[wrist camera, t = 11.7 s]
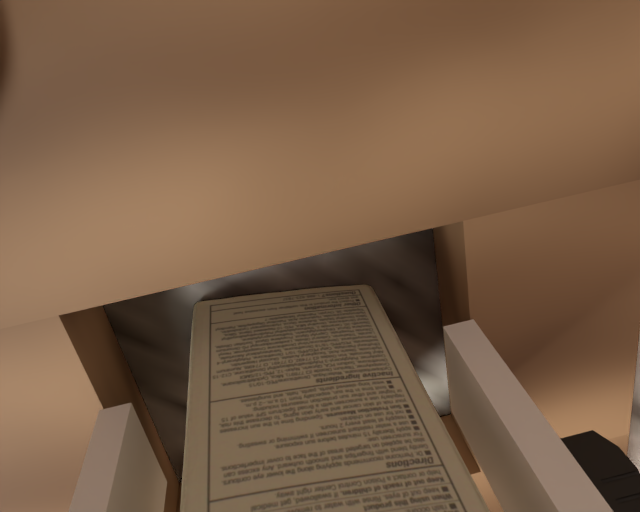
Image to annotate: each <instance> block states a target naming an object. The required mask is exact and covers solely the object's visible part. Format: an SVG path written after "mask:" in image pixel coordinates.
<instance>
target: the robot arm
mask: <svg viewBox="0 0 640 512" xmlns="http://www.w3.org/2000/svg"><path fill="white" fill-rule="evenodd" d="M443 331H444V341H445V352H446V362H447V373H448V383H449V393H450V404H451V411H452V413H453V415H454V417H455V419H456V421H457V423H458V425H459V427H460V428H461V430H462V432H463V434H464V436H465V438H466V440H467V442H468V444H469V446H470V448H471V450H472V451H473V453H474V455H475V457H476V459H477V461H478V463H479V465H480V467H481V469H482V471H483V473H484V474H485V476H486V478H487V480H488V482H489V484H490V486H491V488H492V490H493V492H494V494H495V496H496V497H497V499H498V501H499V503H500V505H501V507H502V509H503V511H504V512H640V473H639V471H638V469H637V468H636V466H635V465H634V464H633V463H632V462H631V461H630V459H629V458H628V457H627V456H626V455H625V453H624V452H623V451H622V450H621V449H620V447H618V446H617V445H615V444H614V443H612V442H611V441H609V440H607V439H606V438H604V437H603V436H601V435H600V434H598V433H597V432H595V431H593V430H591V431H587V432H583V433H580V434H576V435H572V436H568V437H564V438H559V436H558V435H557V433H556V432H555V431H554V429H553V428H552V427H551V425H550V424H549V422H548V421H547V420H546V418H545V417H544V416H543V414H542V413H541V411H540V410H539V409H538V407H537V406H536V405H535V403H534V402H533V401H532V399H531V398H530V396H529V395H528V394H527V392H526V391H525V390H524V388H523V387H522V385H521V384H520V383H519V381H518V380H517V379H516V377H515V376H514V374H513V373H512V372H511V370H510V369H509V368H508V366H507V365H506V363H505V362H504V361H503V359H502V358H501V357H500V355H499V354H498V352H497V351H496V350H495V348H494V347H493V346H492V344H491V343H490V341H489V340H488V339H487V337H486V336H485V335H484V333H483V332H482V330H481V329H480V328H479V326H478V325H477V324H476V322H475V321H474V320H473V319H472V320H468V321H464V322H460V323H456V324H452V325H448V326H444V327H443ZM166 488H167V480H166V478H165V476H164V474H163V472H162V469H161V467H160V465H159V463H158V460H157V458H156V456H155V454H154V452H153V449H152V447H151V445H150V443H149V441H148V438H147V436H146V434H145V432H144V430H143V427H142V425H141V423H140V421H139V418H138V416H137V414H136V412H135V410H134V407H133V405H132V403H127V404H123V405H119V406H115V407H111V408H107V409H103V410H99V412H98V416H97V419H96V422H95V426H94V429H93V432H92V436H91V439H90V442H89V446H88V449H87V452H86V456H85V459H84V462H83V465H82V469H81V472H80V475H79V479H78V482H77V485H76V489H75V492H74V495H73V499H72V502H71V505H70V509H69V512H164V504H165V496H166Z"/></svg>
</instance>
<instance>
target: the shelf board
mask: <svg viewBox="0 0 640 512" xmlns="http://www.w3.org/2000/svg"><path fill="white" fill-rule="evenodd" d="M431 228H433V236H434V246H435V256H436V267H437V277H438V287H439V297H440V307H441V317H442V327H444V326H448V325H452V324H456V323H460V322H464V321H468V320H472V319H473V320H474V321H475V322H476V324H477V325H478V326H479V328H480V329H481V330H482V332H483V333H484V335H485V336H486V337H487V339H488V340H489V341H490V343H491V344H492V346H493V347H494V348H495V350H496V351H497V352H498V354H499V355H500V357H501V358H502V359H503V361H504V362H505V363H506V365H507V366H508V368H509V369H510V370H511V372H512V373H513V374H514V376H515V377H516V379H517V380H518V381H519V383H520V384H521V385H522V387H523V388H524V390H525V391H526V392H527V394H528V395H529V396H530V398H531V399H532V401H533V402H534V403H535V405H536V406H537V407H538V409H539V410H540V411H541V413H542V414H543V416H544V417H545V418H546V420H547V421H548V422H549V424H550V425H551V427H552V428H553V429H554V431H555V432H556V433H557V435H558V436H559V438H564V437H568V436H572V435H576V434H580V433H583V432H587V431H591V430H593V431H595V432H597V433H598V434H600V435H601V436H603V437H604V438H606V439H607V440H609V441H611V442H612V443H614V444H615V445H617V446H618V447H620V449H621V450H622V451H623V452H624V453H625V455H626V456H627V450H628V440H629V430H630V420H631V410H632V400H633V390H634V380H635V370H636V360H637V350H638V341H639V331H640V0H0V512H69V509H70V505H71V502H72V499H73V495H74V492H75V489H76V485H77V482H78V479H79V475H80V472H81V469H82V465H83V462H84V459H85V456H86V452H87V449H88V446H89V442H90V439H91V436H92V432H93V429H94V426H95V422H96V419H97V416H98V412H99V410H103V409H107V408H111V407H115V406H119V405H123V404H127V403H132V405H133V407H134V410H135V412H136V414H137V416H138V418H139V421H140V423H141V425H142V427H143V430H144V432H145V434H146V436H147V438H148V441H149V443H150V445H151V447H152V449H153V452H154V454H155V456H156V458H157V460H158V463H159V465H160V467H161V469H162V472H163V474H164V476H165V478H166V480H167V488H166V496H165V504H164V512H180V503H181V488H182V482H180V483H179V482H178V479H177V477H176V475H175V472H174V470H173V468H172V465H171V463H170V461H169V458H168V456H167V454H166V452H165V449H164V447H163V445H162V442H161V440H160V438H159V435H158V433H157V431H156V428H155V426H154V424H153V422H152V419H151V417H150V415H149V412H148V410H147V408H146V405H145V403H144V401H143V398H142V396H141V394H140V392H139V389H138V387H137V385H136V382H135V380H134V378H133V375H132V373H131V371H130V368H129V366H128V364H127V362H126V359H125V357H124V355H123V352H122V350H121V348H120V345H119V343H118V341H117V339H116V336H115V334H114V332H113V329H112V327H111V325H110V322H109V320H108V318H107V315H106V313H105V311H104V309H103V306H102V305H105V304H110V303H114V302H118V301H123V300H127V299H131V298H135V297H140V296H144V295H148V294H153V293H157V292H161V291H165V290H170V289H174V288H178V287H182V286H187V285H191V284H195V283H200V282H204V281H208V280H212V279H217V278H221V277H225V276H230V275H234V274H238V273H242V272H247V271H251V270H255V269H260V268H264V267H268V266H272V265H277V264H281V263H285V262H289V261H294V260H298V259H302V258H307V257H311V256H315V255H319V254H324V253H328V252H332V251H337V250H341V249H345V248H349V247H354V246H358V245H362V244H366V243H371V242H375V241H379V240H384V239H388V238H392V237H396V236H401V235H405V234H409V233H414V232H418V231H422V230H426V229H431ZM443 337H444V331H443ZM444 347H445V341H444ZM445 357H446V352H445ZM446 367H447V362H446ZM447 377H448V373H447ZM448 388H449V383H448ZM449 398H450V393H449ZM450 408H451V404H450ZM440 418H441V420H442V422H443V423H444V425H445V427H446V429H447V431H448V433H449V435H450V437H451V439H452V440H453V442H454V444H455V446H456V448H457V450H458V452H459V454H460V455H461V457H462V459H463V461H464V463H465V465H466V467H467V469H468V471H469V472H470V474H471V476H472V478H473V480H474V482H475V484H476V486H477V488H478V490H479V491H480V493H481V495H482V497H483V499H484V501H485V503H486V505H487V507H488V509H489V511H490V512H504V511H503V509H502V507H501V505H500V503H499V501H498V499H497V497H496V496H495V494H494V492H493V490H492V488H491V486H490V484H489V482H488V480H487V478H486V476H485V474H484V473H483V471H482V469H481V467H480V465H479V463H478V461H477V459H476V457H475V455H474V453H473V451H472V450H471V448H470V446H469V444H468V442H467V440H466V438H465V436H464V434H463V432H462V430H461V428H460V427H459V425H458V423H457V421H456V419H455V417H454V415H453V413H452V411H451V415H447V416H443V417H440Z"/></svg>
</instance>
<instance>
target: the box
mask: <svg viewBox="0 0 640 512" xmlns="http://www.w3.org/2000/svg"><path fill="white" fill-rule="evenodd" d="M180 512H490V511H489V509H488V507H487V505H486V503H485V501H484V499H483V497H482V495H481V493H480V491H479V490H478V488H477V486H476V484H475V482H474V480H473V478H472V476H471V474H470V472H469V471H468V469H467V467H466V465H465V463H464V461H463V459H462V457H461V455H460V454H459V452H458V450H457V448H456V446H455V444H454V442H453V440H452V439H451V437H450V435H449V433H448V431H447V429H446V427H445V425H444V423H443V422H442V420H441V418H440V416H439V414H438V413H437V411H436V409H435V407H434V405H433V403H432V401H431V399H430V397H429V396H428V394H427V392H426V390H425V388H424V386H423V384H422V382H421V380H420V378H419V376H418V375H417V373H416V371H415V369H414V367H413V365H412V363H411V361H410V359H409V357H408V355H407V353H406V351H405V349H404V347H403V346H402V344H401V342H400V339H399V337H398V336H397V334H396V332H395V330H394V328H393V326H392V324H391V322H390V321H389V319H388V317H387V315H386V313H385V311H384V309H383V307H382V305H381V303H380V301H379V299H378V297H377V295H376V293H375V291H374V289H373V288H372V287H371V286H369V285H352V286H334V287H321V288H310V289H301V290H293V291H285V292H275V293H265V294H255V295H246V296H238V297H231V298H225V299H217V300H208V301H200V302H197V303H196V304H195V305H194V309H193V320H192V330H191V345H190V362H189V383H188V398H187V416H186V434H185V448H184V461H183V474H182V488H181V503H180Z"/></svg>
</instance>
